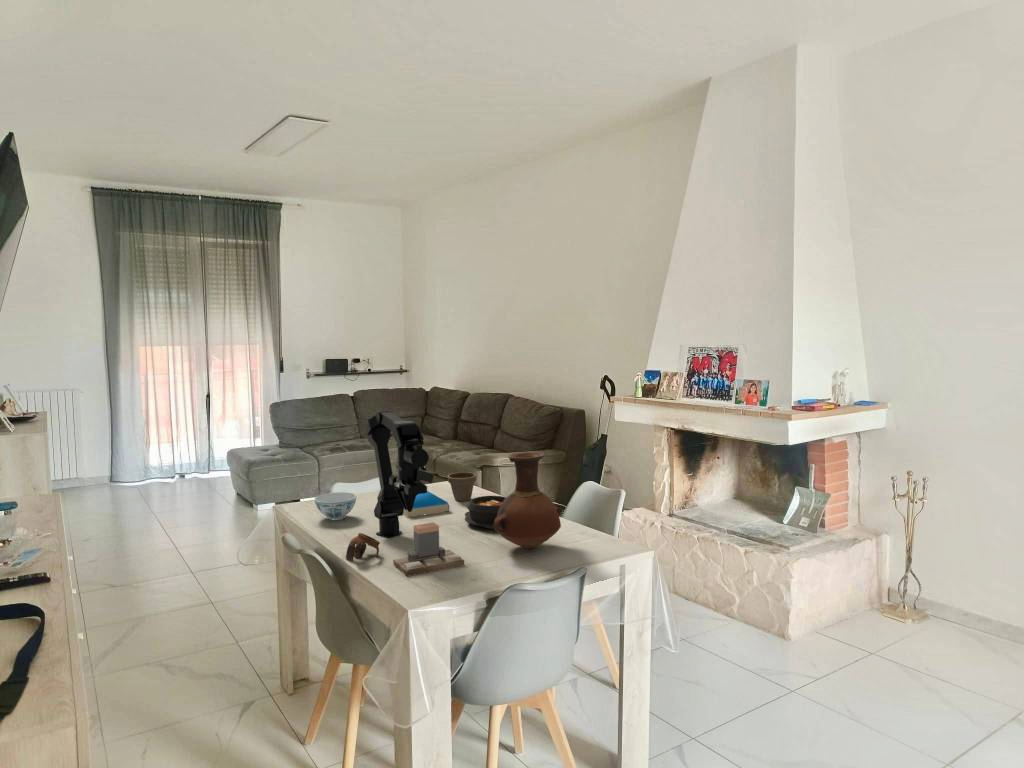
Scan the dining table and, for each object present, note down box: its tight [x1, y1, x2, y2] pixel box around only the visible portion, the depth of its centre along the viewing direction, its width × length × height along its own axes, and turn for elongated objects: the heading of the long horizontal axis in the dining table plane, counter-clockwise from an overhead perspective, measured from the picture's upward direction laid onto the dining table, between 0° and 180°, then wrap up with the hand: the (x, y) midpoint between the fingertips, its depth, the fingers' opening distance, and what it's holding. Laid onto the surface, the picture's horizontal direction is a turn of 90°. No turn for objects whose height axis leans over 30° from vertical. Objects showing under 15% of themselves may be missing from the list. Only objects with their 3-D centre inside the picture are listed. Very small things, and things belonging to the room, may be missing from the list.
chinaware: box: [314, 491, 357, 520], centre depth 258 cm, size 15×15×8 cm
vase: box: [493, 451, 562, 550], centre depth 220 cm, size 25×20×30 cm
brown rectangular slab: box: [392, 546, 465, 577], centre depth 207 cm, size 11×18×4 cm, turn 119°
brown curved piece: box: [345, 532, 381, 562], centre depth 213 cm, size 12×10×8 cm
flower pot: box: [447, 471, 477, 502], centre depth 282 cm, size 12×11×10 cm
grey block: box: [413, 522, 440, 559], centre depth 207 cm, size 4×7×10 cm, turn 119°
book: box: [403, 490, 450, 518], centre depth 272 cm, size 17×4×25 cm
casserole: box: [464, 495, 507, 530], centre depth 248 cm, size 25×19×8 cm
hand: (408, 510), depth 222 cm, fingers open, 3 cm apart
